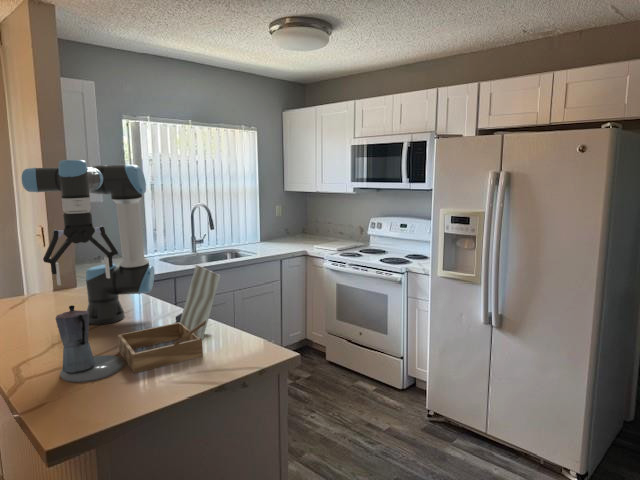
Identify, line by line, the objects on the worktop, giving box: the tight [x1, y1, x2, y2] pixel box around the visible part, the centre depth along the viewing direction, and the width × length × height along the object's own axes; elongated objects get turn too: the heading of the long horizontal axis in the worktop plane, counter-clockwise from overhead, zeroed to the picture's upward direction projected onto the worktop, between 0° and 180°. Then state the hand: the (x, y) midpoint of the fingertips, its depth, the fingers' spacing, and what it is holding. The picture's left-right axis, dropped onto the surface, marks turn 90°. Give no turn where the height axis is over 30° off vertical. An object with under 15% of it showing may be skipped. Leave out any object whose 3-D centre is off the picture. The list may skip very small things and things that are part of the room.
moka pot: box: [55, 304, 95, 373], centre depth 144 cm, size 10×15×20 cm, turn 52°
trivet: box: [59, 354, 125, 383], centre depth 146 cm, size 18×18×1 cm
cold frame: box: [117, 264, 222, 374], centre depth 158 cm, size 22×30×27 cm
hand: (84, 281), depth 142 cm, fingers open, 13 cm apart
